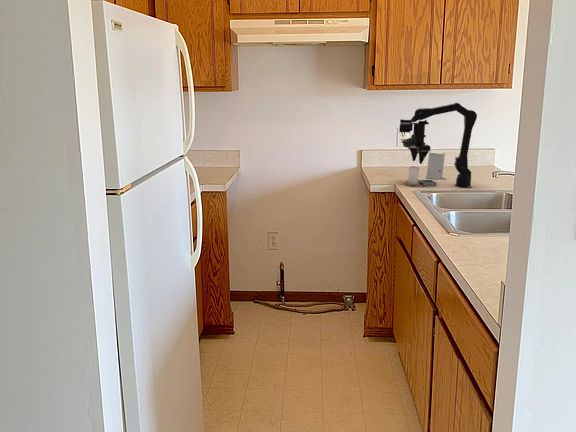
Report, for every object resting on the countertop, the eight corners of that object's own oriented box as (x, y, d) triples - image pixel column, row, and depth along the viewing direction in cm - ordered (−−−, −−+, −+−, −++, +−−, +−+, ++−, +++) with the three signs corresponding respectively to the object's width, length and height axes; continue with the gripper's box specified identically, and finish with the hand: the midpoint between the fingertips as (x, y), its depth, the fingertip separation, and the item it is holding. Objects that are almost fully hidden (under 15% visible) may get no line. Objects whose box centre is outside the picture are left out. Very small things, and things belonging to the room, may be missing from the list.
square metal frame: (430, 183, 305) (430, 179, 304) (436, 186, 297) (436, 182, 296) (417, 183, 304) (418, 179, 303) (423, 186, 296) (423, 182, 295)
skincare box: (426, 178, 319) (428, 152, 315) (428, 176, 324) (430, 151, 320) (441, 179, 315) (443, 153, 312) (443, 178, 321) (445, 152, 317)
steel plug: (415, 182, 301) (416, 166, 299) (417, 184, 297) (419, 167, 295) (408, 183, 300) (409, 166, 298) (410, 184, 297) (411, 167, 294)
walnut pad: (416, 183, 303) (416, 182, 303) (421, 186, 296) (421, 184, 296) (404, 183, 302) (404, 182, 302) (408, 186, 295) (408, 185, 295)
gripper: (398, 131, 303) (396, 160, 307) (411, 134, 285) (409, 165, 289) (417, 131, 305) (415, 159, 309) (431, 134, 287) (429, 164, 291)
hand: (417, 162), depth 299 cm, fingers open, 9 cm apart
